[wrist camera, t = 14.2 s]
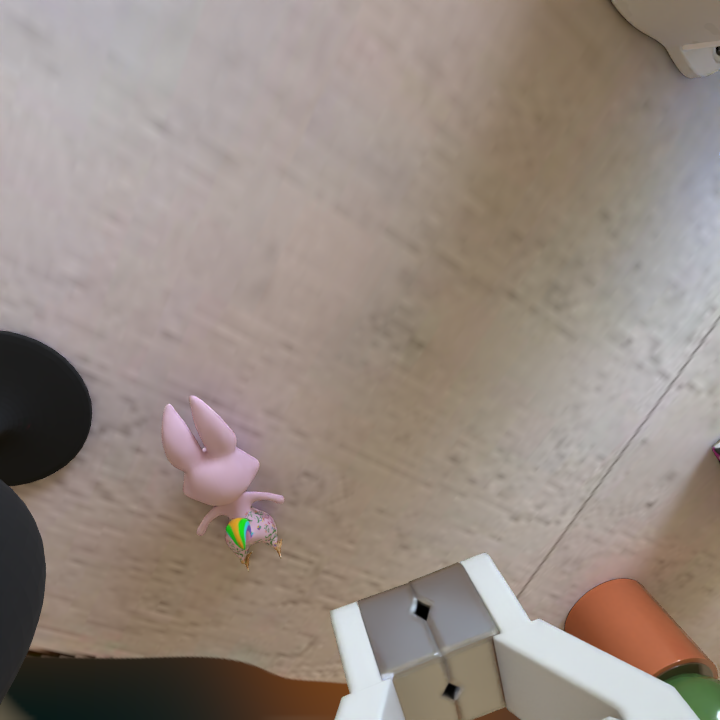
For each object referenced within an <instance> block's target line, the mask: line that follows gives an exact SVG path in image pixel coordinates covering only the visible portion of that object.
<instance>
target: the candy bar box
mask: <svg viewBox="0 0 720 720" xmlns="http://www.w3.org/2000/svg"><path fill="white" fill-rule="evenodd" d="M712 450H713V452H714V453H715V455H716V457H717V458H718V460H719V462H720V440H719V441H718V442H717V443H716V444H714V445H713V446H712Z"/></svg>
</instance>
